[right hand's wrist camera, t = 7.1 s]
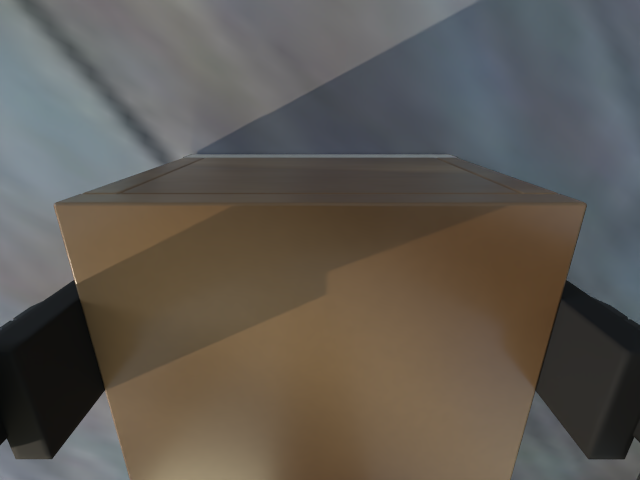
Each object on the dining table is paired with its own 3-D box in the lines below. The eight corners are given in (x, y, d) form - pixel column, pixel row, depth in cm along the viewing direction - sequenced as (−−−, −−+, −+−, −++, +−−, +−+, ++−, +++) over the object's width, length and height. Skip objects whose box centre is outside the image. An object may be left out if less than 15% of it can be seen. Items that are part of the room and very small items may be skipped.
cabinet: (408, 475, 22) (456, 677, 14) (232, 475, 22) (183, 677, 14) (449, 154, 15) (589, 202, 7) (191, 154, 15) (50, 202, 7)
